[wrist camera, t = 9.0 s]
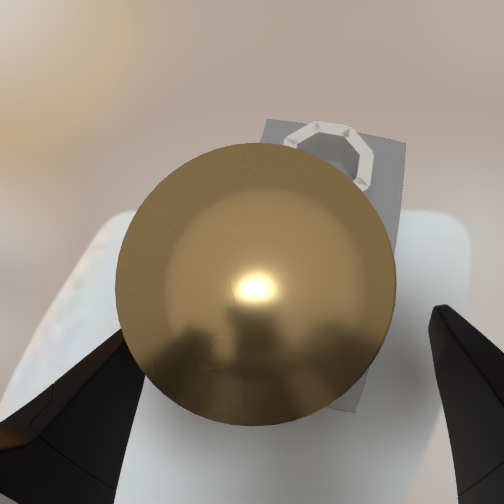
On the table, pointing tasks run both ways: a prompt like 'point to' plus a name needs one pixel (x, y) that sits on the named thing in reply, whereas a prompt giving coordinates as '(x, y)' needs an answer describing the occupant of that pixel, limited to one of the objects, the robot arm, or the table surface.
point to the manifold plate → (360, 172)
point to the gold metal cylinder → (255, 284)
